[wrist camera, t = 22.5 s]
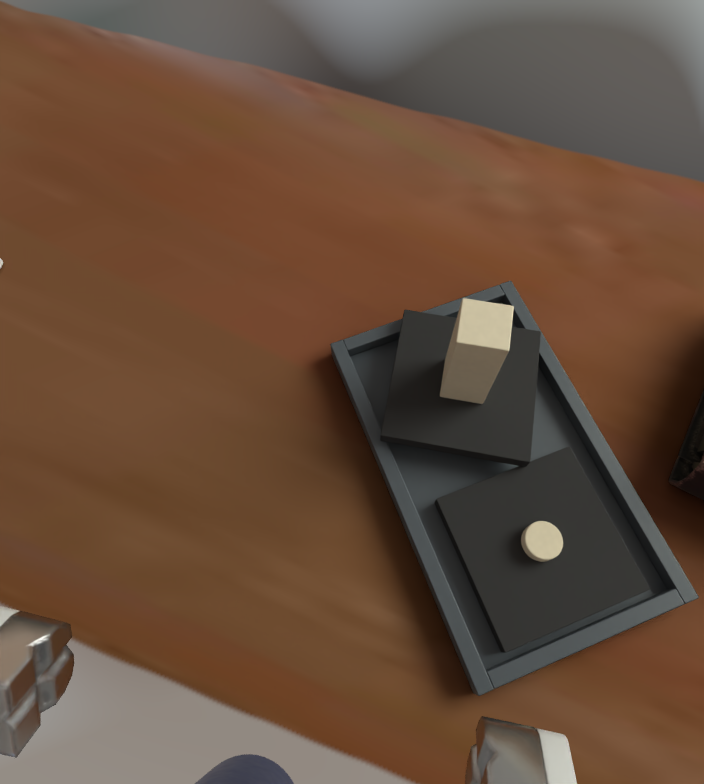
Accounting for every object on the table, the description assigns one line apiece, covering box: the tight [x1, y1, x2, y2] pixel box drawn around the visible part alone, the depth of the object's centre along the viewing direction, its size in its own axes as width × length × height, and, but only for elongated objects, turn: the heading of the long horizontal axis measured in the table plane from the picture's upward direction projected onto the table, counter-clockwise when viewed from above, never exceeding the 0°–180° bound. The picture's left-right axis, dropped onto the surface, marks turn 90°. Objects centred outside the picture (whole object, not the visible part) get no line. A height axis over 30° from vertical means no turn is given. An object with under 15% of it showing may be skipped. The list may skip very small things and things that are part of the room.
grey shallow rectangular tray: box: [331, 281, 699, 696], centre depth 40 cm, size 15×25×2 cm, turn 21°
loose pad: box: [380, 298, 541, 467], centre depth 37 cm, size 10×10×9 cm
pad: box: [435, 446, 650, 653], centre depth 37 cm, size 10×10×2 cm
